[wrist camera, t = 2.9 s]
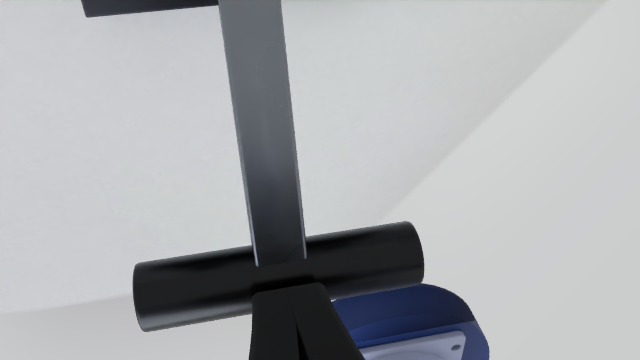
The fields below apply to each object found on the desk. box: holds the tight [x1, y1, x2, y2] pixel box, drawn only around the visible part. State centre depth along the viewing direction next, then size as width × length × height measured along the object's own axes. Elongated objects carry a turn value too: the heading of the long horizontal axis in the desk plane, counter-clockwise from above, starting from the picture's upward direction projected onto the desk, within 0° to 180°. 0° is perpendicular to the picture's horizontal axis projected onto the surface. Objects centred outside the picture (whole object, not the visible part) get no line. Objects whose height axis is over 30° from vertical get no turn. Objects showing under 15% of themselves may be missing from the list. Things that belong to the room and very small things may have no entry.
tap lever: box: [133, 0, 424, 332], centre depth 10 cm, size 11×6×2 cm, turn 1°
